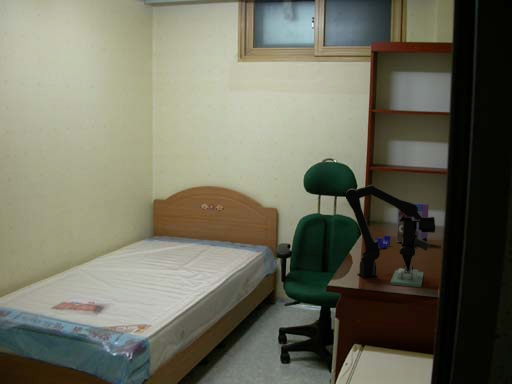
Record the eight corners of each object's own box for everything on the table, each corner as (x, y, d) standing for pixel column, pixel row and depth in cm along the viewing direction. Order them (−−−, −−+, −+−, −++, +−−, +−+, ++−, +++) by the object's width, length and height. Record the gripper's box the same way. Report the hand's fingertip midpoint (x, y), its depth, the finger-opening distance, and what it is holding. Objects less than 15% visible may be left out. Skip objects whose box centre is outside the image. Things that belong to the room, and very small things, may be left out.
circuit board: (420, 287, 216) (421, 284, 216) (390, 284, 220) (390, 281, 220) (423, 274, 238) (423, 272, 238) (395, 272, 242) (395, 269, 242)
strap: (410, 274, 223) (410, 271, 223) (403, 273, 224) (403, 271, 224) (412, 267, 234) (412, 265, 234) (405, 267, 235) (405, 265, 235)
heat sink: (416, 280, 222) (416, 272, 222) (396, 278, 225) (397, 270, 224) (418, 274, 234) (418, 266, 234) (399, 272, 237) (399, 264, 237)
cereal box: (396, 243, 323) (398, 203, 321) (396, 241, 328) (397, 202, 326) (427, 244, 319) (428, 204, 318) (426, 243, 324) (427, 203, 322)
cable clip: (383, 249, 303) (383, 238, 302) (376, 248, 305) (376, 237, 305) (392, 246, 312) (392, 236, 312) (385, 245, 315) (385, 235, 314)
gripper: (428, 236, 219) (427, 274, 220) (429, 230, 236) (428, 264, 237) (400, 234, 222) (399, 271, 224) (403, 228, 240) (402, 262, 241)
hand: (408, 267), depth 231 cm, fingers closed, pressing on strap
